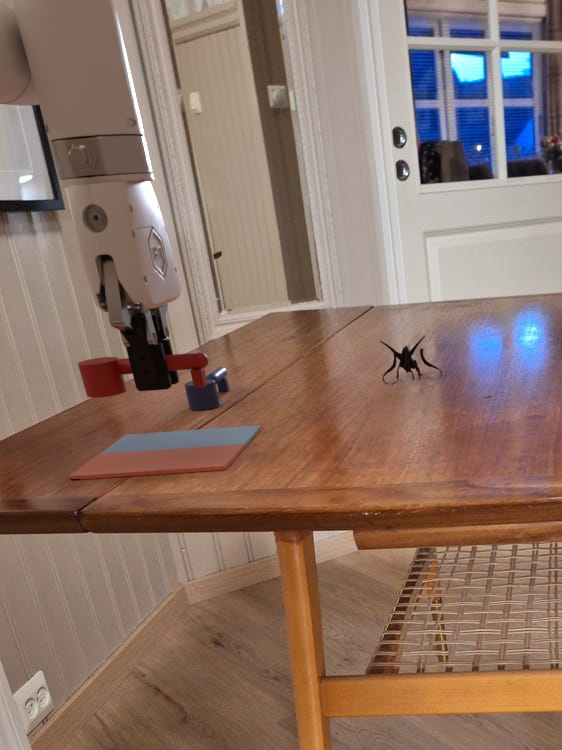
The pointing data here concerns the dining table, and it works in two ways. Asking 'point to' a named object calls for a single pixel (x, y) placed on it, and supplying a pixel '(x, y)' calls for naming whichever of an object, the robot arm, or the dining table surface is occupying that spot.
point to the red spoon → (108, 373)
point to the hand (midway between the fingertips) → (158, 385)
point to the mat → (169, 453)
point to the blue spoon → (207, 391)
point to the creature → (407, 361)
